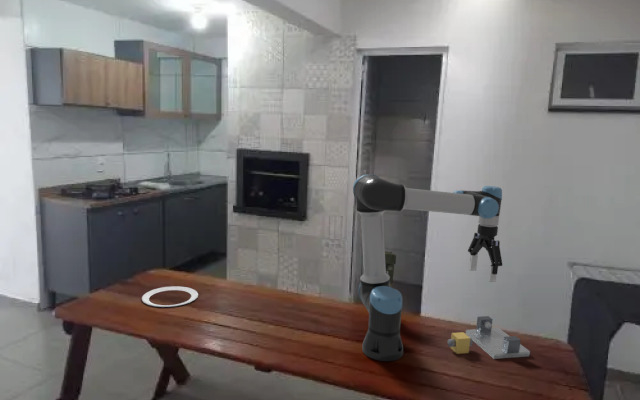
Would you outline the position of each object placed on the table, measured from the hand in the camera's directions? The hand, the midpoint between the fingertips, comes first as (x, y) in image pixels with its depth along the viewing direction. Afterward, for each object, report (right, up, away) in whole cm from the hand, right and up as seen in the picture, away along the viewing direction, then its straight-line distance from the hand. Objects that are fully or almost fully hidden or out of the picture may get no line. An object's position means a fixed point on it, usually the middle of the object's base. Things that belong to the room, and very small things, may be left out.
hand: (482, 275), depth 185 cm
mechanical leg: (-37, -21, +16) cm, 46 cm away
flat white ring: (-136, -15, +27) cm, 139 cm away
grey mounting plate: (+3, -26, -6) cm, 27 cm away
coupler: (-13, -26, -12) cm, 32 cm away
